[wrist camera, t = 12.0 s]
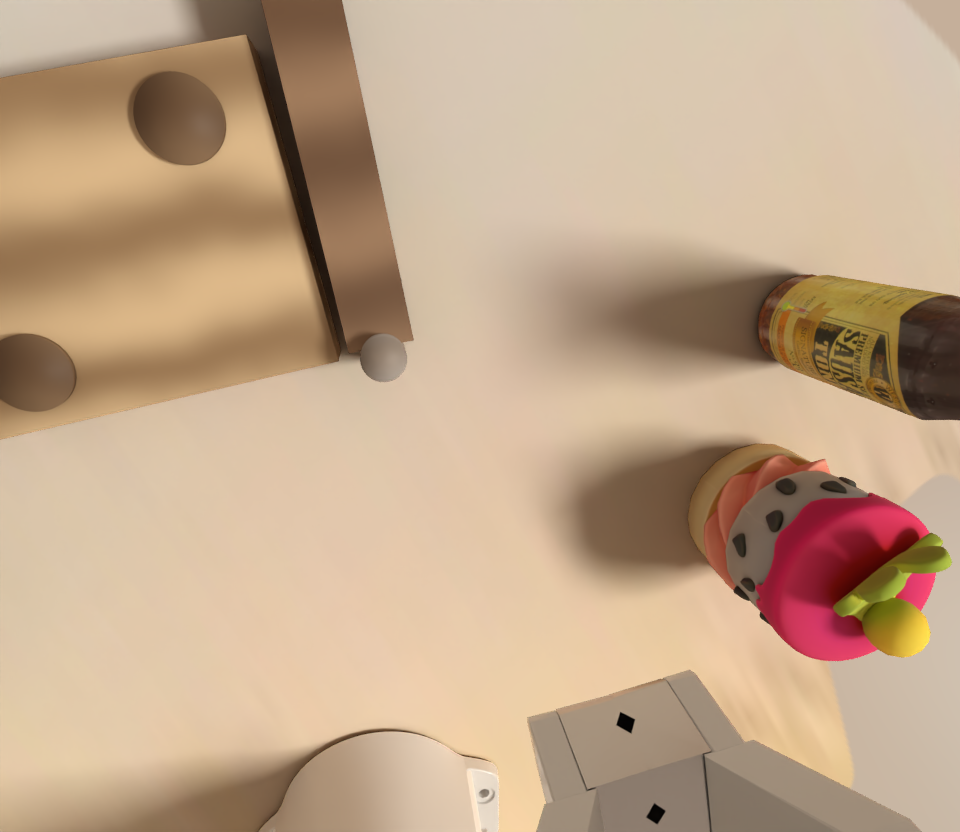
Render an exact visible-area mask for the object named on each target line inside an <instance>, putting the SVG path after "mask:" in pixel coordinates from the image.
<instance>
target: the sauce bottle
mask: <svg viewBox="0 0 960 832" xmlns="http://www.w3.org/2000/svg"><path fill="white" fill-rule="evenodd" d="M758 334H759V341H760V342H761V343H762V348H763V349H764V350H765V351H766V352H767V353H768V354H769V355H770V356H772V357H773V358H774V359H775V360H777V361H779V362H780V363H781V364H782V365H783V366H785V367H787V368H789V369H791V370H794V371H796V372H799V373H801V374H804V375H807V376H809V377H812V378H814V379H817V380H820V381H822V382H825V383H828V384H830V385H833V386H836V387H838V388H840V389H843V390H846V391H848V392H850V393H854V394H856V395H859V396H862V397H865V398H867V399H870V400H872V401H875V402H877V403H880V404H883V405H885V406H888V407H890V408H893V409H895V410H898V411H900V412H903V413H905V414H908V415H911V416H914V417H916V418H919V419H922V420H960V297H958V296H954V295H948V294H942V293H936V292H930V291H923V290H917V289H910V288H903V287H897V286H891V285H885V284H879V283H873V282H867V281H861V280H855V279H848V278H842V277H836V276H830V275H821V276H816V275H801V276H797V277H793V278H792V279H789V280H787V281H784V282H783V283H782V284H781V285H779V286H777V287H776V288H775V289H774V290H773V291H772V292H771V293H770V295H769V296H768V297H767V298H766V300H765V302H764V304H763V306H762V309H761V311H760V314H759V324H758Z"/></svg>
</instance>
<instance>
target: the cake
mask: <svg viewBox="0 0 960 832" xmlns="http://www.w3.org/2000/svg"><path fill="white" fill-rule="evenodd" d="M688 523H689V531H690V535H691V537H692V539H693V541H694V542H695V544H696V546H697V548H698V549H699V550H700V551H701V552H702V553H703V554H704V555H705V556H706V557H707V560H708V563H709V564H710V565H711V566H712V567H713V568H714V570H715V571H716V572H717V573H718V574H719V576H720V577H721V578H722V579H723V580H724V581H725V583H726V584H727V585H728V586H729V587H730V588H731V589H733V590H734V593H735V594H737V595H738V596H740V597H741V598H743V599H745V600H748V601H751V602H752V603H753V604H754V605H755V606H756V607H757V608H758V609H759V610H760V611H761V612H760V617H761V619H763V620H764V621H765V622H767V623H768V624H770V625H771V626H772V627H773V629H774V630H775V631H776V632H777V634H778V635H779V636H780V637H781V638H782V639H783V640H784V641H785V642H786V643H787V644H789V645H790V646H791V647H792V648H793V649H795V650H796V651H798V652H800V653H801V654H803V655H805V656H808V657H811V658H814V659H818V660H824V661H843V660H849V659H854V658H858V657H861V656H864V655H866V654H869V653H871V652H874V651H876V650H877V649H879V650H880V651H882V652H884V653H885V654H887V655H891V656H897V657H909V656H912V655H915V654H916V653H918V652H920V651H922V650H923V648H924V647H925V646H926V644H927V643H928V642H929V638H930V633H931V632H930V629H929V626H928V623H927V620H926V617H925V616H924V615H923V614H922V613H921V610H922V608H923V606H924V605H925V603H926V601H927V599H928V597H929V595H930V592H931V590H932V587H933V583H934V580H935V575H936V572H940V571H943V570H945V569H947V568H948V567H950V566H951V563H952V561H951V558H950V555H949V553H948V552H947V550H946V549H944V548H943V547H941V545H942V544H943V541H942V540H941V539H940V537H938V536H937V535H935V534H933V533H929V531H928V530H927V528H926V526H925V525H924V524H923V523H922V522H921V521H920V520H919V519H918V518H917V517H916V516H914V515H913V514H912V513H910V512H909V511H907V510H905V509H904V508H902V507H900V506H898V505H897V504H895V503H893V502H891V501H889V500H887V499H885V498H882V497H880V496H878V495H875V494H873V493H869V494H868V493H866V492H864V491H863V490H861V489H859V488H857V487H856V483H855V482H854V481H852V480H849V479H847V478H844V477H839V478H838V477H836V476H833V475H831V474H830V471H829V469H828V466H827V463H826V461H825V459H822V460H818V461H815V462H810V461H808V460H806V459H804V458H802V457H801V456H799V455H797V454H795V453H793V452H791V451H789V450H787V449H784V448H782V447H779V446H777V445H774V444H753V445H750V446H746V447H743V448H739V449H736V450H734V451H732V452H731V453H729V454H727V455H726V456H724V457H723V458H721V459H719V460H718V461H716V462H715V463H714V464H713V466H712V467H711V468H710V469H709V470H708V471H707V472H706V473H705V474H704V475H703V476H702V477H701V479H700V481H699V483H698V485H697V487H696V489H695V490H694V492H693V494H692V496H691V501H690V506H689V511H688Z"/></svg>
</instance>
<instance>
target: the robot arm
mask: <svg viewBox="0 0 960 832" xmlns="http://www.w3.org/2000/svg"><path fill="white" fill-rule="evenodd" d="M527 723H528V727H529V732H530V736H531V741H532V746H533V750H534V755H535V759H536V764H537V768H538V772H539V776H540V780H541V785H542V789H543V793H544V797H545V800H546V804H544V808H543V811H542V814H541V818H540V821H539V824H538V828H537V831H536V832H921V831H920V830H919V829H918V827H917V826H916V825H915V824H914V823H913V822H912V821H911V820H910V819H908V818H907V817H904V816H903V815H901V814H899V813H897V812H895V811H893V810H891V809H889V808H887V807H885V806H883V805H881V804H879V803H877V802H875V801H873V800H871V799H869V798H867V797H865V796H863V795H861V794H859V793H857V792H855V791H853V790H851V789H849V788H847V787H845V786H843V785H841V784H839V783H838V782H836V781H834V780H832V779H830V778H828V777H826V776H824V775H822V774H820V773H818V772H816V771H814V770H812V769H810V768H808V767H806V766H804V765H802V764H800V763H798V762H796V761H794V760H792V759H790V758H788V757H786V756H784V755H782V754H780V753H778V752H776V751H774V750H772V749H770V748H768V747H767V746H765V745H763V744H761V743H759V742H757V741H755V740H751V741H747V742H744V740H743V739H742V737H741V736H740V735H739V733H738V732H737V731H736V729H735V728H734V726H733V725H732V724H731V722H730V721H729V719H728V718H727V717H726V715H725V714H724V713H723V711H722V710H721V708H720V707H719V706H718V704H717V703H716V701H715V700H714V699H713V697H712V696H711V695H710V693H709V692H708V690H707V689H706V688H705V686H704V685H703V684H702V682H701V681H700V679H699V678H698V677H697V675H696V674H695V673H694V672H692V671H691V670H688V671H684V672H681V673H678V674H675V675H671V676H668V677H665V678H663V679H658V680H655V681H652V682H648V683H645V684H642V685H639V686H635V687H632V688H629V689H626V690H622V691H619V692H616V693H613V694H609V695H608V696H604V697H600V698H596V699H593V700H589V701H585V702H581V703H578V704H574V705H570V706H566V707H563V708H559V709H556V711H555V710H554V711H550V712H546V713H543V714H539V715H535V716H531V717H527ZM258 832H499V777H498V769H497V767H496V765H494V764H493V763H491V762H489V761H486V760H482V759H477V758H471V757H464V756H462V755H459V754H457V753H456V752H454V751H452V750H451V749H449V748H448V747H446V746H444V745H443V744H441V743H439V742H437V741H435V740H433V739H430V738H428V737H425V736H421V735H418V734H413V733H407V732H376V733H369V734H364V735H360V736H356V737H353V738H350V739H347V740H344V741H342V742H339V743H337V744H335V745H333V746H331V747H329V748H327V749H326V750H324V751H322V752H321V753H320V754H318V755H317V756H315V757H314V758H313V759H312V760H310V761H309V762H308V763H307V764H306V765H305V766H304V767H303V768H302V769H301V770H300V771H299V773H298V774H297V775H296V776H295V778H294V779H293V781H292V782H291V784H290V786H289V788H288V790H287V792H286V795H285V797H284V800H283V802H282V805H281V807H280V809H279V810H278V812H277V813H276V814H275V815H274V816H273V817H272V818H271V819H269V820H268V821H267V822H266V823H265V824H264V825H263V826H262V828H261V829H260V830H259V831H258Z"/></svg>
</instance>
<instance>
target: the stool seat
mask: <svg viewBox="0 0 960 832" xmlns="http://www.w3.org/2000/svg"><path fill="white" fill-rule="evenodd" d="M340 352H341V349H340V345H339V342H338V338H337V334H336V331H335V327H334V324H333V320H332V317H331V313H330V309H329V306H328V302H327V299H326V295H325V292H324V288H323V284H322V281H321V277H320V274H319V270H318V267H317V263H316V259H315V256H314V252H313V249H312V245H311V242H310V238H309V234H308V231H307V227H306V224H305V220H304V217H303V213H302V209H301V206H300V202H299V199H298V195H297V192H296V188H295V184H294V181H293V177H292V174H291V170H290V167H289V163H288V159H287V156H286V152H285V149H284V145H283V142H282V138H281V134H280V131H279V127H278V124H277V120H276V117H275V113H274V109H273V106H272V102H271V99H270V95H269V92H268V88H267V84H266V81H265V77H264V74H263V70H262V67H261V63H260V59H259V56H258V52H257V50H256V48H255V47H254V45H253V44H252V43H251V41H250V40H249V38H248V37H247V35H246V34H245V35H240V36H234V37H228V38H223V39H217V40H212V41H206V42H200V43H195V44H189V45H183V46H178V47H172V48H166V49H161V50H155V51H150V52H144V53H138V54H133V55H127V56H121V57H116V58H110V59H104V60H99V61H93V62H87V63H82V64H76V65H71V66H65V67H59V68H54V69H48V70H42V71H37V72H31V73H25V74H20V75H14V76H9V77H3V78H0V439H5V438H9V437H13V436H18V435H22V434H26V433H31V432H35V431H39V430H43V429H48V428H52V427H56V426H61V425H65V424H69V423H74V422H78V421H82V420H87V419H91V418H95V417H100V416H104V415H108V414H113V413H117V412H121V411H125V410H130V409H134V408H138V407H143V406H147V405H151V404H156V403H160V402H164V401H169V400H173V399H177V398H182V397H186V396H190V395H195V394H199V393H203V392H208V391H212V390H216V389H220V388H225V387H229V386H233V385H238V384H242V383H246V382H251V381H255V380H259V379H264V378H268V377H272V376H277V375H281V374H285V373H290V372H294V371H298V370H303V369H307V368H311V367H315V366H320V365H324V364H328V363H333V362H337V361H339V357H340Z"/></svg>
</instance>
